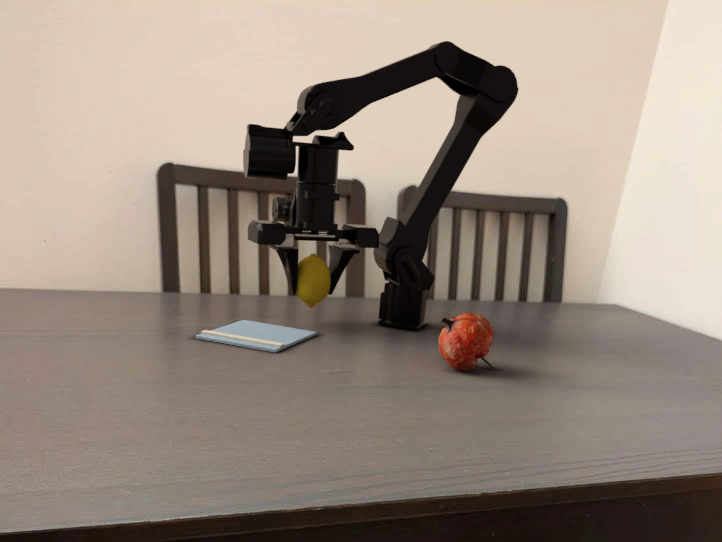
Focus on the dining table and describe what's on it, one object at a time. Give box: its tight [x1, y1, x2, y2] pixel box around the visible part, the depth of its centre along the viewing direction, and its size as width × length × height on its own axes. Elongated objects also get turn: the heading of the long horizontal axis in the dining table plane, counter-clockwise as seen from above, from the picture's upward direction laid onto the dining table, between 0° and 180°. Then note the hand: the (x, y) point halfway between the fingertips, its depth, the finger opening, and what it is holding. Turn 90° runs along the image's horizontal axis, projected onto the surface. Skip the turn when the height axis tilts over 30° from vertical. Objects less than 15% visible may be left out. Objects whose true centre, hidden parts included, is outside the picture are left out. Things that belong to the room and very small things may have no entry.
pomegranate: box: [438, 312, 495, 372], centre depth 93 cm, size 7×7×10 cm
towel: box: [194, 319, 318, 354], centre depth 101 cm, size 12×13×1 cm
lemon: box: [295, 253, 331, 309], centre depth 109 cm, size 6×6×8 cm
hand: (311, 294), depth 110 cm, fingers closed on lemon, 5 cm apart
